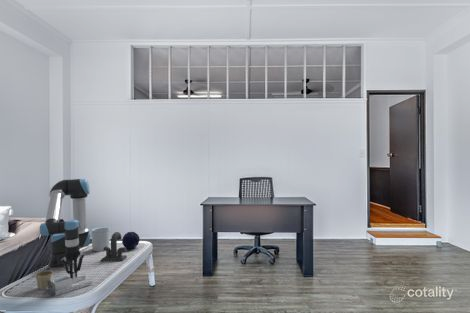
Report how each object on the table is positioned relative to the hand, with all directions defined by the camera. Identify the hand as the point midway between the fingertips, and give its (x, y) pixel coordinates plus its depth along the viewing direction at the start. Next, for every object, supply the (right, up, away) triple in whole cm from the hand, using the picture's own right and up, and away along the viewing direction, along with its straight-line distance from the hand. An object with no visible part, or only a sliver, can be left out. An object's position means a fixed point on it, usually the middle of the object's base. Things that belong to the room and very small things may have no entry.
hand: (73, 283), depth 181 cm
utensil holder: (-18, -3, +75) cm, 77 cm away
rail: (-2, -2, -1) cm, 3 cm away
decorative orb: (+9, -2, +75) cm, 76 cm away
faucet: (+5, -2, +51) cm, 51 cm away
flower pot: (-17, -2, -1) cm, 18 cm away
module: (-5, -2, -5) cm, 7 cm away
